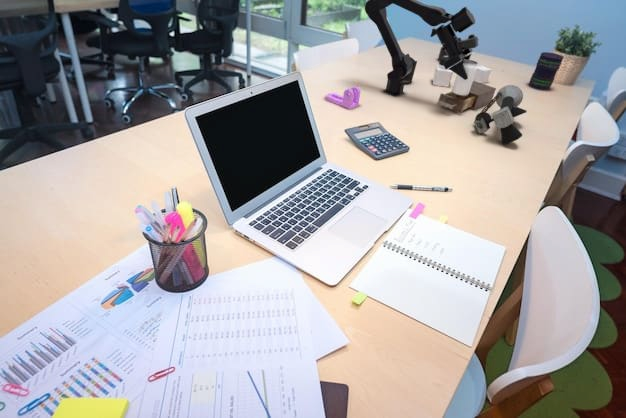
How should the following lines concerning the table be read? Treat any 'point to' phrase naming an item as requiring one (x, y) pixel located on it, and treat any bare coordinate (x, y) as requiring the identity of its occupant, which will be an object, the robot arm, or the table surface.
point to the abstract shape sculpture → (503, 114)
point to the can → (462, 85)
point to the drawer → (456, 101)
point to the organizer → (481, 94)
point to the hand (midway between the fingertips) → (468, 77)
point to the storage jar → (545, 71)
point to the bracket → (346, 98)
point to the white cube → (482, 74)
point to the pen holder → (409, 76)
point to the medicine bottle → (442, 74)
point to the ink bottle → (442, 53)
